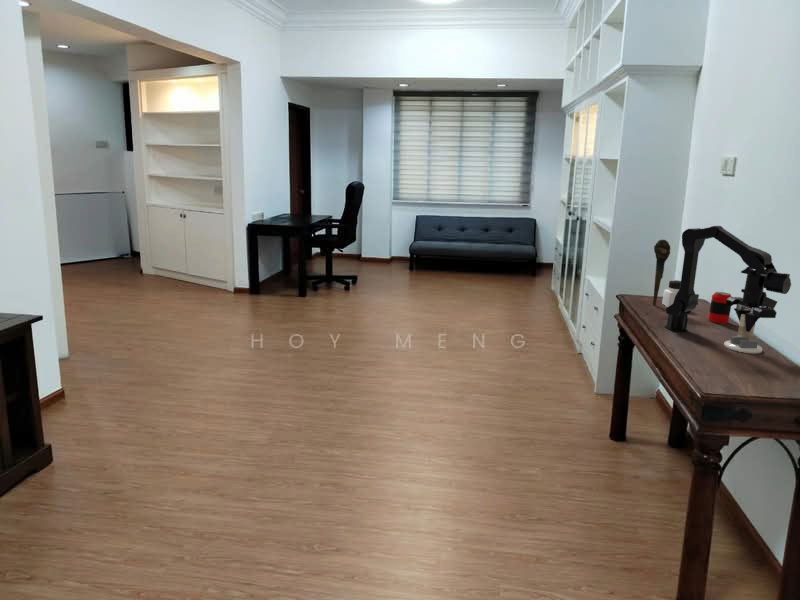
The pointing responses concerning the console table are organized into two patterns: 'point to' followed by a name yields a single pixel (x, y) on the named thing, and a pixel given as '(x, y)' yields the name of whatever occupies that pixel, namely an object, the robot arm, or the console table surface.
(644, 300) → the console table surface
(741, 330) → the block
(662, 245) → the decorative torch
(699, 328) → the console table surface
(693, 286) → the robot arm
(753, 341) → the dish
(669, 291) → the medicine bottle
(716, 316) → the soda can
